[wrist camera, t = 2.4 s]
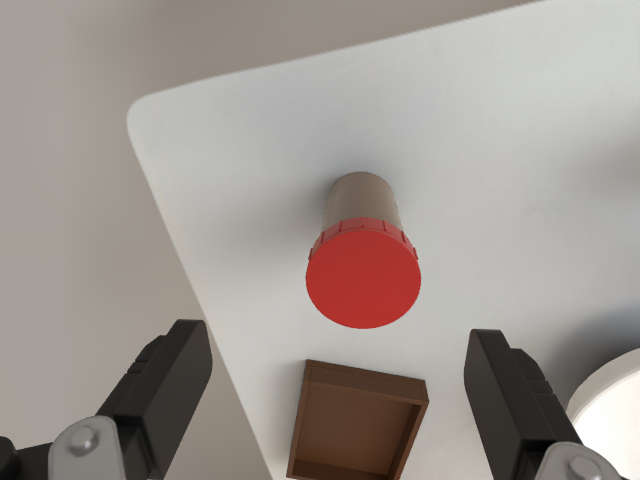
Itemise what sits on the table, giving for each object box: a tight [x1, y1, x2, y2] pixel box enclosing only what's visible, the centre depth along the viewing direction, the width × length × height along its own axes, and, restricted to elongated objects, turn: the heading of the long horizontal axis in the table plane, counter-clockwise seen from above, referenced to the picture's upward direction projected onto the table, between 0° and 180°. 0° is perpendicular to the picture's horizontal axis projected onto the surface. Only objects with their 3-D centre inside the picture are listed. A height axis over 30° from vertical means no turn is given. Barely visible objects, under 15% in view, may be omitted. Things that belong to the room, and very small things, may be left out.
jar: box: [320, 172, 403, 235], centre depth 27 cm, size 6×6×12 cm
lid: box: [305, 216, 421, 329], centre depth 22 cm, size 6×6×2 cm
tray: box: [286, 359, 429, 480], centre depth 42 cm, size 12×15×3 cm
